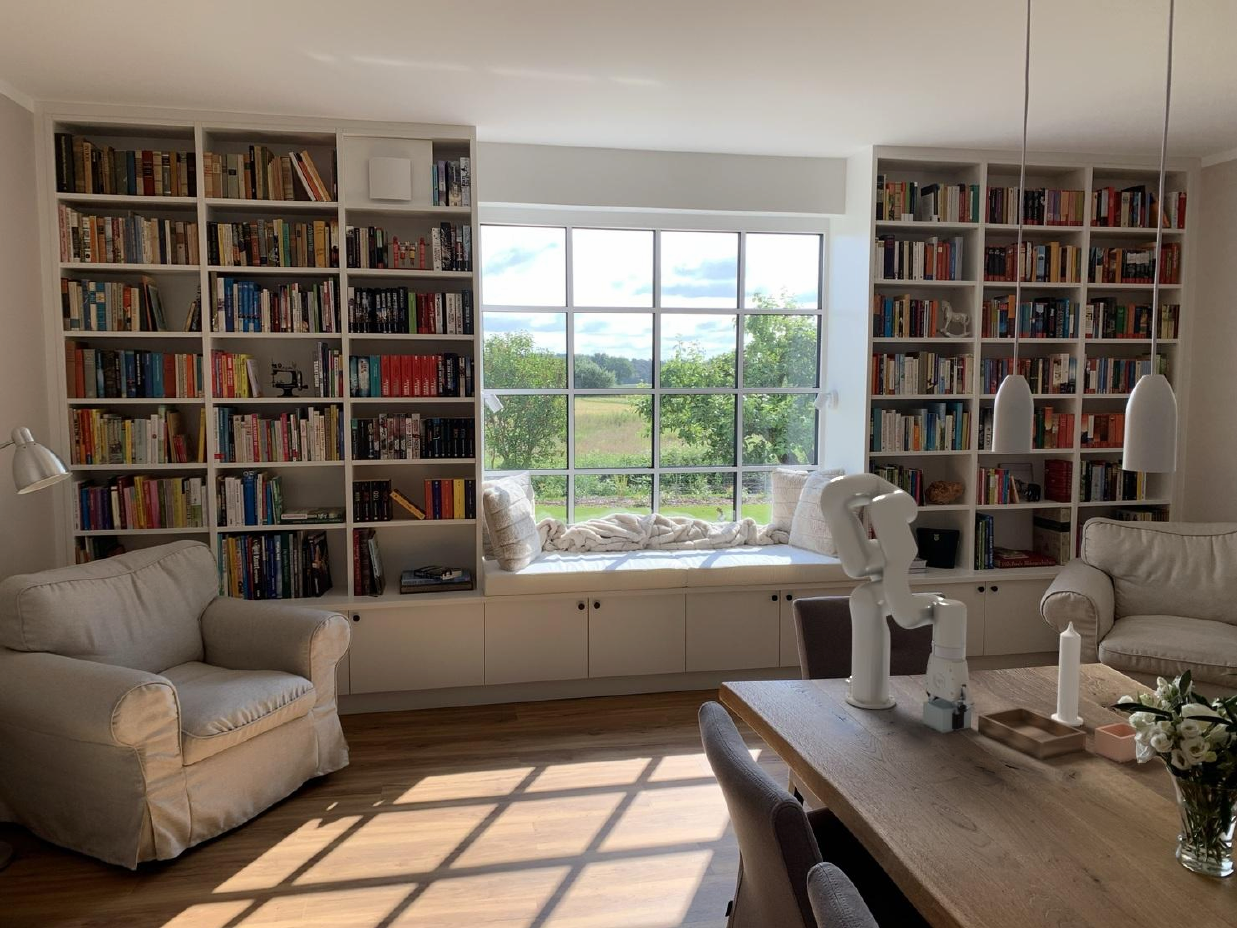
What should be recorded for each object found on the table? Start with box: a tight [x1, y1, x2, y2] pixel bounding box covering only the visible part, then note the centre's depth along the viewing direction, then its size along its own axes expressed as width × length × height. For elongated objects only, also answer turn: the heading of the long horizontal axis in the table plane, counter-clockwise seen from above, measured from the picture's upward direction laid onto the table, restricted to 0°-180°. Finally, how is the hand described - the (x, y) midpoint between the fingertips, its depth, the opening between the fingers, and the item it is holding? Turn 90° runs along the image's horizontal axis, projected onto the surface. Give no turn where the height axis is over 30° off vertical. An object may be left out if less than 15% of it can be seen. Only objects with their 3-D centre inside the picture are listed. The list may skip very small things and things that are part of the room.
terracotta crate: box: [1093, 722, 1136, 764], centre depth 200 cm, size 6×9×6 cm
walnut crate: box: [977, 706, 1087, 761], centre depth 208 cm, size 18×14×4 cm
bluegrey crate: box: [922, 699, 973, 734], centre depth 217 cm, size 6×9×6 cm
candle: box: [1050, 621, 1084, 727], centre depth 219 cm, size 7×7×25 cm
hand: (946, 722), depth 217 cm, fingers closed on bluegrey crate, 6 cm apart
